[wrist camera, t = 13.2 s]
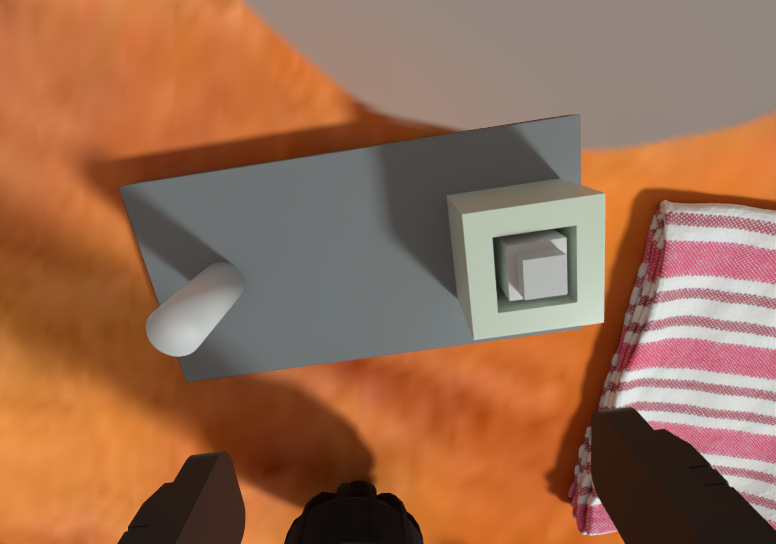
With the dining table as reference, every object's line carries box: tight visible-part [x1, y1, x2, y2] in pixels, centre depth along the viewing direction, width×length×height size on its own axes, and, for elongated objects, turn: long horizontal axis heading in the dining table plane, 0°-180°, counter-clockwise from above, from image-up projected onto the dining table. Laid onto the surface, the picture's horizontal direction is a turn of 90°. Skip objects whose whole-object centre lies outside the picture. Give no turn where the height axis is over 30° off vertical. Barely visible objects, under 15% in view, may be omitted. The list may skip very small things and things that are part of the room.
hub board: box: [119, 115, 582, 382], centre depth 22 cm, size 24×12×8 cm, turn 98°
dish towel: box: [568, 200, 776, 535], centre depth 28 cm, size 17×23×4 cm
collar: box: [446, 178, 605, 340], centre depth 22 cm, size 6×6×5 cm
